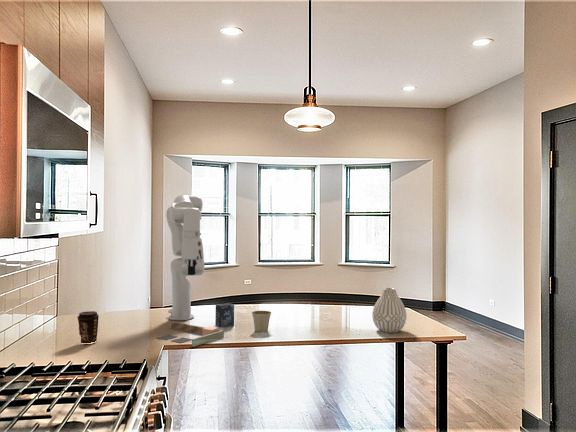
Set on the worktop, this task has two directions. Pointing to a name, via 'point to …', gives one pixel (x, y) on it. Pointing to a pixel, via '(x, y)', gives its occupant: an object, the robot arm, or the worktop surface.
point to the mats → (175, 339)
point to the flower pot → (261, 320)
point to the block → (209, 330)
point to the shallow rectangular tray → (197, 330)
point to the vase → (389, 312)
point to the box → (224, 315)
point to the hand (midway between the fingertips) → (191, 274)
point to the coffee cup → (88, 326)
